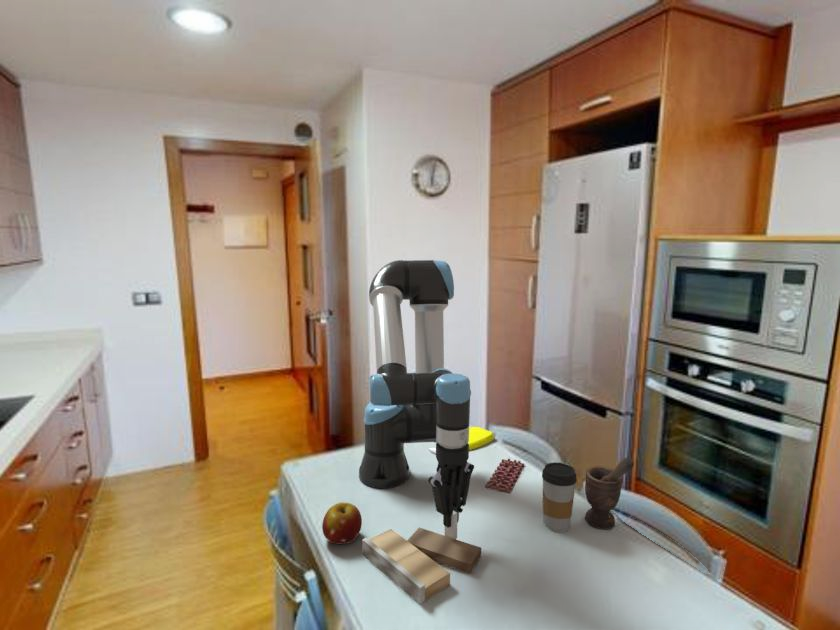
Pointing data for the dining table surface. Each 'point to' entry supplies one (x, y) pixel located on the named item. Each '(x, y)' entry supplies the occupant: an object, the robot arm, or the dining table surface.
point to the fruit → (342, 523)
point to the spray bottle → (476, 438)
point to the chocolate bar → (505, 476)
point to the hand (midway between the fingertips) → (450, 536)
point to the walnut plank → (446, 550)
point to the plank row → (406, 565)
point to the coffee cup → (558, 495)
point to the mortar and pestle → (604, 492)
